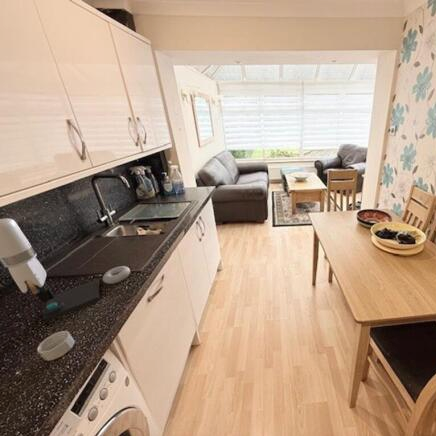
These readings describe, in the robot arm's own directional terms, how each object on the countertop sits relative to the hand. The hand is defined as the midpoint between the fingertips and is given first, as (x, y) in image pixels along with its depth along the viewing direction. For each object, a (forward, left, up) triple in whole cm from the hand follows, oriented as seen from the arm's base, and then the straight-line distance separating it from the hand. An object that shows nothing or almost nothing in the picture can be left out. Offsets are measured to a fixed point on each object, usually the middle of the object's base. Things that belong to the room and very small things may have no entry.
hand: (48, 299), depth 84 cm
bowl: (+18, -12, -7) cm, 22 cm away
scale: (0, +6, -7) cm, 9 cm away
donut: (+6, +20, -7) cm, 22 cm away
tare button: (0, 0, -4) cm, 4 cm away
